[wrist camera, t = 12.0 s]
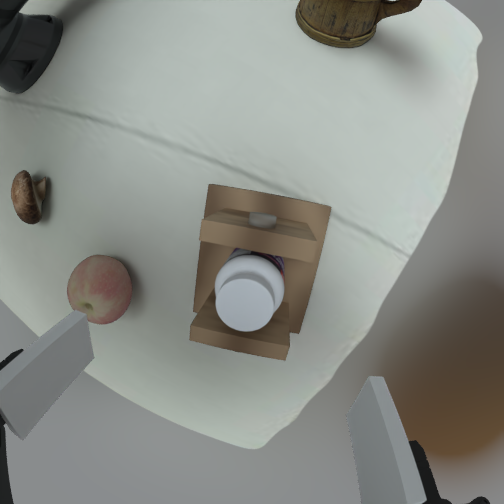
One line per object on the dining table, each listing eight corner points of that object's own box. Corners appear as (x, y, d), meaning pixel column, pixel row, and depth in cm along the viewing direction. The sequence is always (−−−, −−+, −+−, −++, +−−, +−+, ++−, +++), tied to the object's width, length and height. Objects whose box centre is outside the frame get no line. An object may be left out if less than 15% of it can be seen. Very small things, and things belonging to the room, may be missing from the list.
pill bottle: (294, 273, 27) (299, 321, 18) (248, 297, 28) (232, 350, 19) (266, 227, 26) (258, 253, 17) (220, 253, 27) (189, 291, 18)
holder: (196, 306, 31) (166, 351, 22) (212, 184, 27) (179, 186, 18) (298, 326, 30) (302, 381, 21) (328, 206, 26) (352, 219, 17)
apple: (95, 295, 33) (60, 321, 25) (94, 242, 30) (52, 260, 23) (143, 311, 32) (112, 344, 24) (145, 255, 30) (107, 278, 22)
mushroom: (45, 162, 25) (5, 184, 21) (62, 215, 30) (26, 238, 26) (37, 159, 29) (4, 177, 25) (51, 204, 34) (20, 222, 30)
